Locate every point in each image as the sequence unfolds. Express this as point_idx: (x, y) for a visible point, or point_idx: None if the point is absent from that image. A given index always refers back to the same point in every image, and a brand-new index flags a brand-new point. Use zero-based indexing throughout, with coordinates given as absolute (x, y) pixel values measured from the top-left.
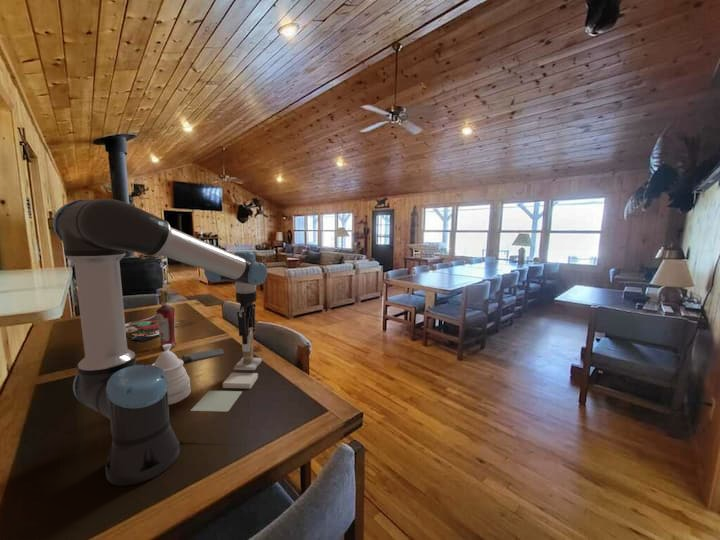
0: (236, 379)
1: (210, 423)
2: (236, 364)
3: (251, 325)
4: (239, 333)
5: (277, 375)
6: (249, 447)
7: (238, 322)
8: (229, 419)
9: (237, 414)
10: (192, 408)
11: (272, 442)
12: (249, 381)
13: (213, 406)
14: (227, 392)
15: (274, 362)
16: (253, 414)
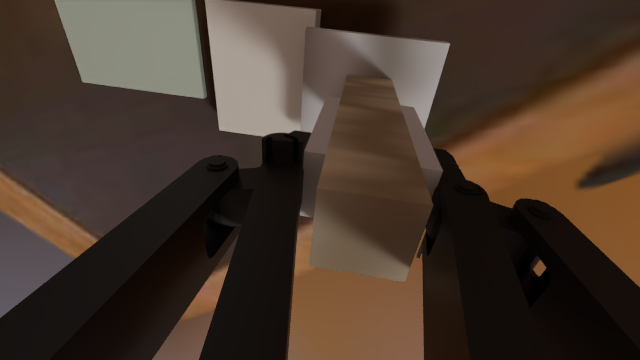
0: (245, 61)
1: (25, 39)
2: (340, 32)
3: (424, 290)
4: (185, 176)
5: None
6: (11, 167)
7: (5, 318)
8: (66, 95)
9: (95, 112)
10: None
11: (46, 206)
12: (235, 123)
13: (85, 14)
14: (185, 37)
15: (464, 174)
16: (111, 155)
